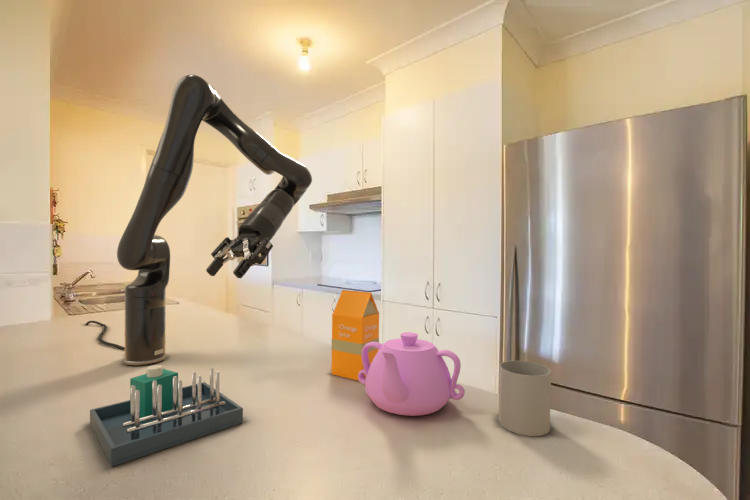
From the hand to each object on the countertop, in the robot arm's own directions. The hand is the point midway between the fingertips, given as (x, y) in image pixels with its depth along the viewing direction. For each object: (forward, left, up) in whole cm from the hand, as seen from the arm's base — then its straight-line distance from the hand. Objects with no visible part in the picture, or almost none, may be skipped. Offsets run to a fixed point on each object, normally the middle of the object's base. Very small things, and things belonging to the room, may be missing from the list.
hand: (222, 274), depth 82 cm
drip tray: (+10, -14, -25) cm, 30 cm away
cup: (+53, +31, -25) cm, 66 cm away
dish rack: (+15, -14, -24) cm, 31 cm away
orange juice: (+13, +27, -25) cm, 39 cm away
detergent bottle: (+6, -15, -24) cm, 29 cm away
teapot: (+34, +21, -25) cm, 47 cm away
